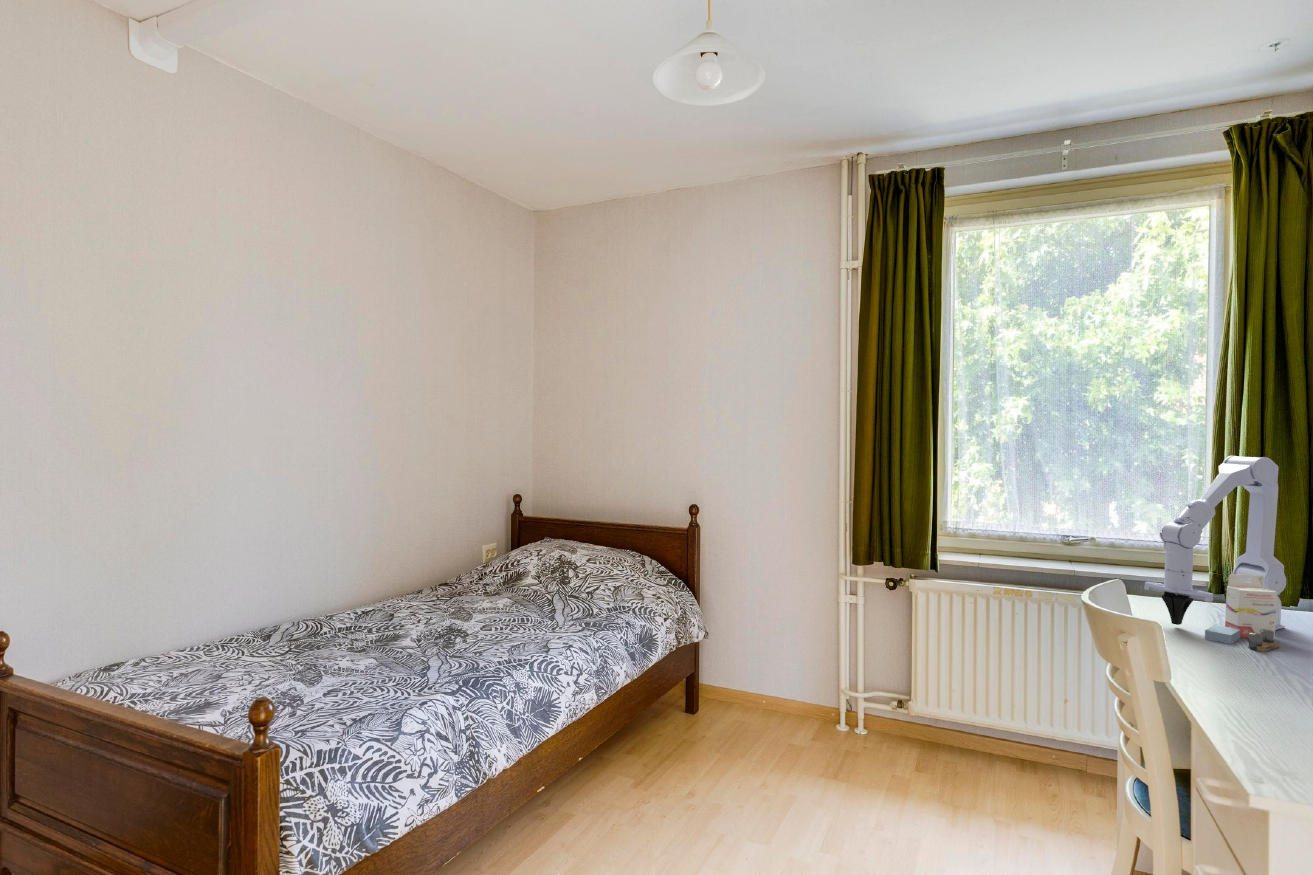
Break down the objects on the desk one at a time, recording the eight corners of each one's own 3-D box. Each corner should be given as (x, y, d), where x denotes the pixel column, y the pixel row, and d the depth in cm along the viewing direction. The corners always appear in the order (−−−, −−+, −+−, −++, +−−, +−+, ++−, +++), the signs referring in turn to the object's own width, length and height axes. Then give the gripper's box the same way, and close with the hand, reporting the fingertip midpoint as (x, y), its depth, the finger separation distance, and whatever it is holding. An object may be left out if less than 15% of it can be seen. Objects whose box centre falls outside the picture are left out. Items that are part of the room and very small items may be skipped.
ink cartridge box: (1238, 637, 172) (1240, 577, 172) (1224, 632, 177) (1226, 573, 177) (1276, 639, 171) (1278, 579, 171) (1261, 633, 176) (1263, 574, 176)
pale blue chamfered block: (1214, 634, 176) (1215, 624, 176) (1240, 639, 172) (1240, 629, 172) (1204, 640, 171) (1205, 629, 171) (1230, 645, 167) (1231, 635, 167)
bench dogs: (1262, 643, 168) (1263, 628, 168) (1279, 647, 165) (1280, 632, 165) (1246, 648, 164) (1247, 633, 164) (1263, 652, 161) (1264, 636, 161)
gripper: (1139, 566, 184) (1137, 618, 184) (1204, 577, 171) (1202, 633, 172) (1153, 564, 187) (1151, 615, 188) (1218, 574, 175) (1216, 629, 175)
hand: (1176, 623), depth 180 cm, fingers closed
